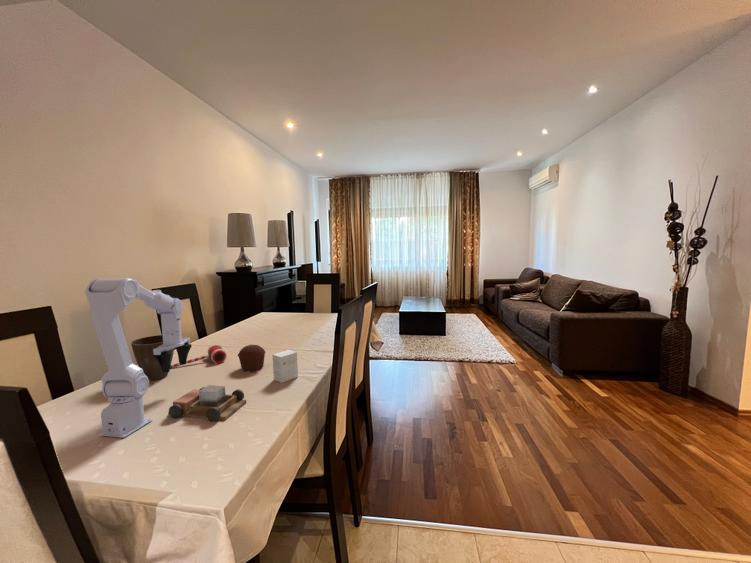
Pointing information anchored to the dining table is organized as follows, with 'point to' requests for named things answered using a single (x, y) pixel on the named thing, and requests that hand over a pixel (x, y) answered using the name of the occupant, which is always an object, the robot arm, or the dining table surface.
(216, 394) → the grey block
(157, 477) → the dining table surface
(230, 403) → the chassis
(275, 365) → the small box
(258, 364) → the muffin
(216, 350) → the toy hammer
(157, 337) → the plant pot
